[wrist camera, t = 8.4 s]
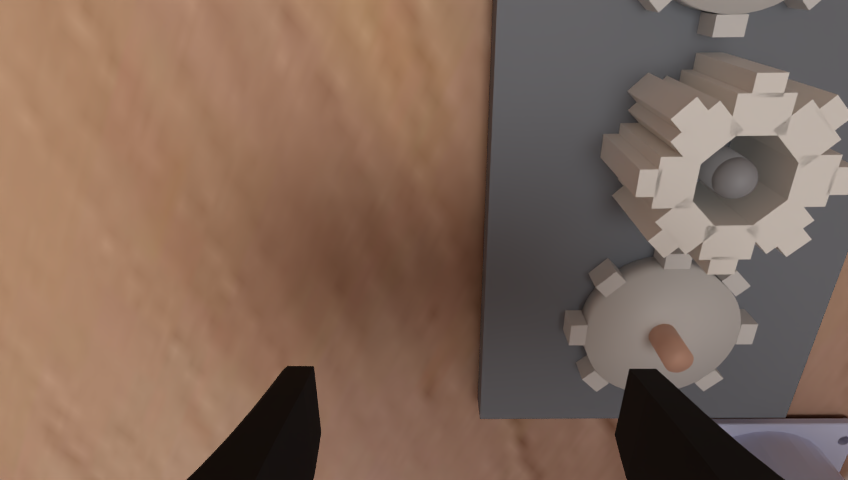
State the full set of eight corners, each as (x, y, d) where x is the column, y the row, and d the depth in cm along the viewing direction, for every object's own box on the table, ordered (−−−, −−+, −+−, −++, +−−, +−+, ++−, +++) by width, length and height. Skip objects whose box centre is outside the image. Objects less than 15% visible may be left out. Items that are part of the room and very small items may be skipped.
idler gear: (756, 223, 19) (819, 273, 16) (591, 225, 19) (622, 275, 16) (805, 50, 17) (892, 70, 14) (614, 54, 17) (655, 74, 14)
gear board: (769, 397, 24) (842, 489, 20) (477, 398, 25) (487, 490, 20) (1027, -339, 14) (1299, -475, 9) (505, -326, 14) (539, -455, 10)
